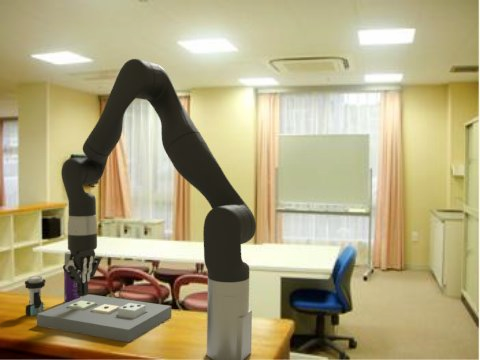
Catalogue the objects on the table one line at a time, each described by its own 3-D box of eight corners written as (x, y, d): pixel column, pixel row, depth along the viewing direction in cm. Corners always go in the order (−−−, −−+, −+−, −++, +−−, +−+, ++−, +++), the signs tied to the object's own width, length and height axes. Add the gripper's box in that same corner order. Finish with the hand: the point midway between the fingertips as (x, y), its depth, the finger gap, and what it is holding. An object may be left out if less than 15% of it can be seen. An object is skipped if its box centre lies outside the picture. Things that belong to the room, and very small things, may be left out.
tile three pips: (145, 314, 123) (145, 304, 123) (134, 320, 118) (134, 309, 118) (129, 311, 125) (129, 302, 125) (117, 317, 120) (118, 307, 120)
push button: (36, 308, 135) (36, 273, 134) (52, 309, 133) (52, 275, 133) (20, 315, 128) (20, 279, 128) (37, 317, 127) (37, 280, 126)
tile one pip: (119, 315, 126) (120, 305, 126) (108, 320, 121) (108, 311, 121) (104, 312, 128) (104, 303, 128) (92, 318, 123) (92, 308, 123)
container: (75, 304, 138) (75, 254, 138) (61, 303, 139) (61, 253, 139) (83, 300, 143) (83, 251, 142) (69, 299, 144) (69, 250, 143)
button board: (171, 316, 129) (171, 306, 129) (128, 342, 110) (128, 329, 110) (88, 304, 139) (88, 294, 139) (36, 325, 120) (36, 314, 120)
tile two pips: (95, 311, 129) (95, 302, 129) (83, 316, 124) (83, 307, 124) (80, 309, 131) (81, 299, 131) (68, 314, 126) (68, 304, 126)
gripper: (76, 236, 119) (77, 303, 120) (109, 229, 131) (109, 290, 132) (53, 234, 122) (54, 300, 122) (87, 228, 134) (87, 288, 135)
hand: (82, 295), depth 127 cm, fingers closed
